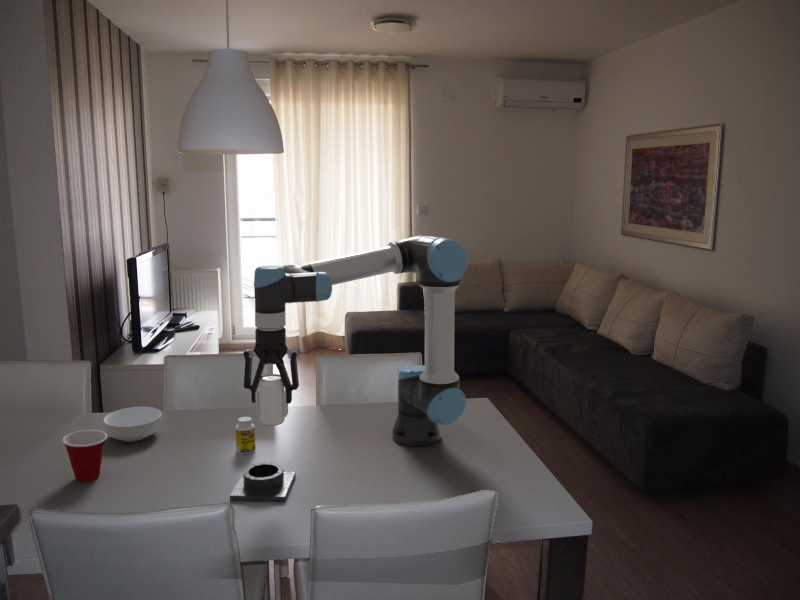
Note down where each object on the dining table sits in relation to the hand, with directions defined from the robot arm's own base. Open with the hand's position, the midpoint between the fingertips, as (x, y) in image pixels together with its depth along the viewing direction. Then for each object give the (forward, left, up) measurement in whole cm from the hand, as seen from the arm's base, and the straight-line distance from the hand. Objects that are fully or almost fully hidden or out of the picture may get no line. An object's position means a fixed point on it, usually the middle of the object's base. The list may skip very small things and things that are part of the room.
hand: (272, 414), depth 163 cm
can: (0, 0, -2) cm, 2 cm away
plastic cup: (+52, -4, -21) cm, 56 cm away
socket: (+3, 0, -21) cm, 21 cm away
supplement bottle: (+14, -23, -21) cm, 34 cm away
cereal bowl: (+52, -32, -21) cm, 64 cm away
